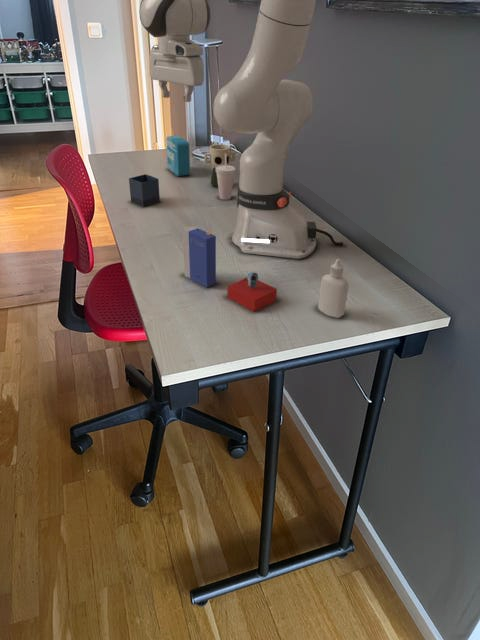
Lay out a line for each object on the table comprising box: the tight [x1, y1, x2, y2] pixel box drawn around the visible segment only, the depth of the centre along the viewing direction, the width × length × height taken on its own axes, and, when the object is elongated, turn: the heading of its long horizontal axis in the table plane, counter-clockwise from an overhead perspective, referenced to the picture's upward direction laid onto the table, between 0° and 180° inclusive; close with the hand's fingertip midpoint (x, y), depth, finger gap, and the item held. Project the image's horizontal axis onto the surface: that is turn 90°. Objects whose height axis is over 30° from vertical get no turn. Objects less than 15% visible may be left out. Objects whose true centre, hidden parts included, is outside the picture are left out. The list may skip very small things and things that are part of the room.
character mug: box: [204, 143, 236, 187], centre depth 170 cm, size 11×7×13 cm, turn 111°
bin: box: [128, 173, 161, 208], centre depth 156 cm, size 8×6×6 cm
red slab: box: [227, 272, 278, 312], centre depth 107 cm, size 8×7×6 cm
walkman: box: [182, 225, 217, 288], centre depth 112 cm, size 8×3×12 cm, turn 45°
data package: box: [165, 135, 191, 177], centre depth 182 cm, size 12×4×12 cm, turn 26°
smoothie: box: [215, 153, 236, 201], centre depth 159 cm, size 6×6×14 cm
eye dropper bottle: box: [317, 258, 350, 319], centre depth 101 cm, size 4×6×12 cm
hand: (176, 99), depth 149 cm, fingers open, 8 cm apart
